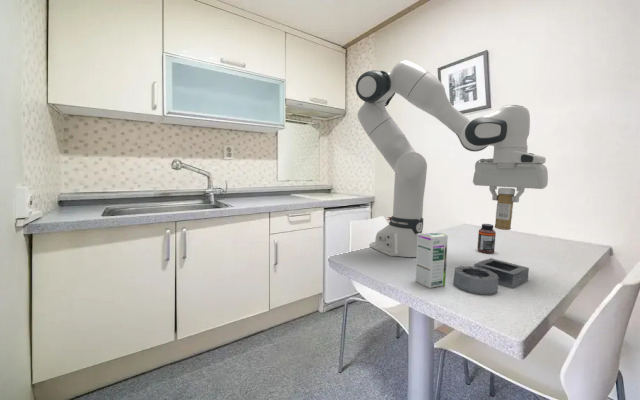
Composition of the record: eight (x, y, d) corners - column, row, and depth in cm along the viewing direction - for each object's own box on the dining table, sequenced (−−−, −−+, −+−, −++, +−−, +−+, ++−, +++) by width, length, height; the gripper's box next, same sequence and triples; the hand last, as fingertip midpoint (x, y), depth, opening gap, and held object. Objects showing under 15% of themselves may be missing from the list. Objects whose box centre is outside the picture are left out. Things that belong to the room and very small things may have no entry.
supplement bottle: (477, 248, 116) (480, 222, 115) (494, 251, 113) (496, 224, 112) (476, 252, 111) (478, 224, 110) (493, 254, 108) (496, 226, 107)
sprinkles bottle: (513, 229, 89) (518, 188, 88) (506, 230, 87) (511, 188, 85) (498, 227, 93) (502, 187, 92) (491, 228, 90) (495, 187, 89)
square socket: (473, 276, 84) (474, 263, 84) (490, 270, 90) (491, 258, 90) (512, 288, 76) (513, 274, 75) (527, 280, 82) (529, 267, 81)
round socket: (446, 283, 78) (447, 270, 78) (465, 276, 84) (466, 264, 84) (484, 298, 69) (486, 283, 69) (503, 289, 75) (505, 275, 75)
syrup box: (430, 288, 75) (433, 236, 73) (414, 280, 80) (417, 232, 78) (445, 285, 77) (448, 235, 75) (429, 278, 82) (432, 230, 81)
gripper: (471, 158, 94) (467, 198, 96) (544, 156, 77) (539, 205, 79) (480, 159, 98) (476, 197, 99) (552, 157, 81) (547, 204, 82)
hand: (505, 201), depth 89 cm, fingers closed on sprinkles bottle, 4 cm apart
